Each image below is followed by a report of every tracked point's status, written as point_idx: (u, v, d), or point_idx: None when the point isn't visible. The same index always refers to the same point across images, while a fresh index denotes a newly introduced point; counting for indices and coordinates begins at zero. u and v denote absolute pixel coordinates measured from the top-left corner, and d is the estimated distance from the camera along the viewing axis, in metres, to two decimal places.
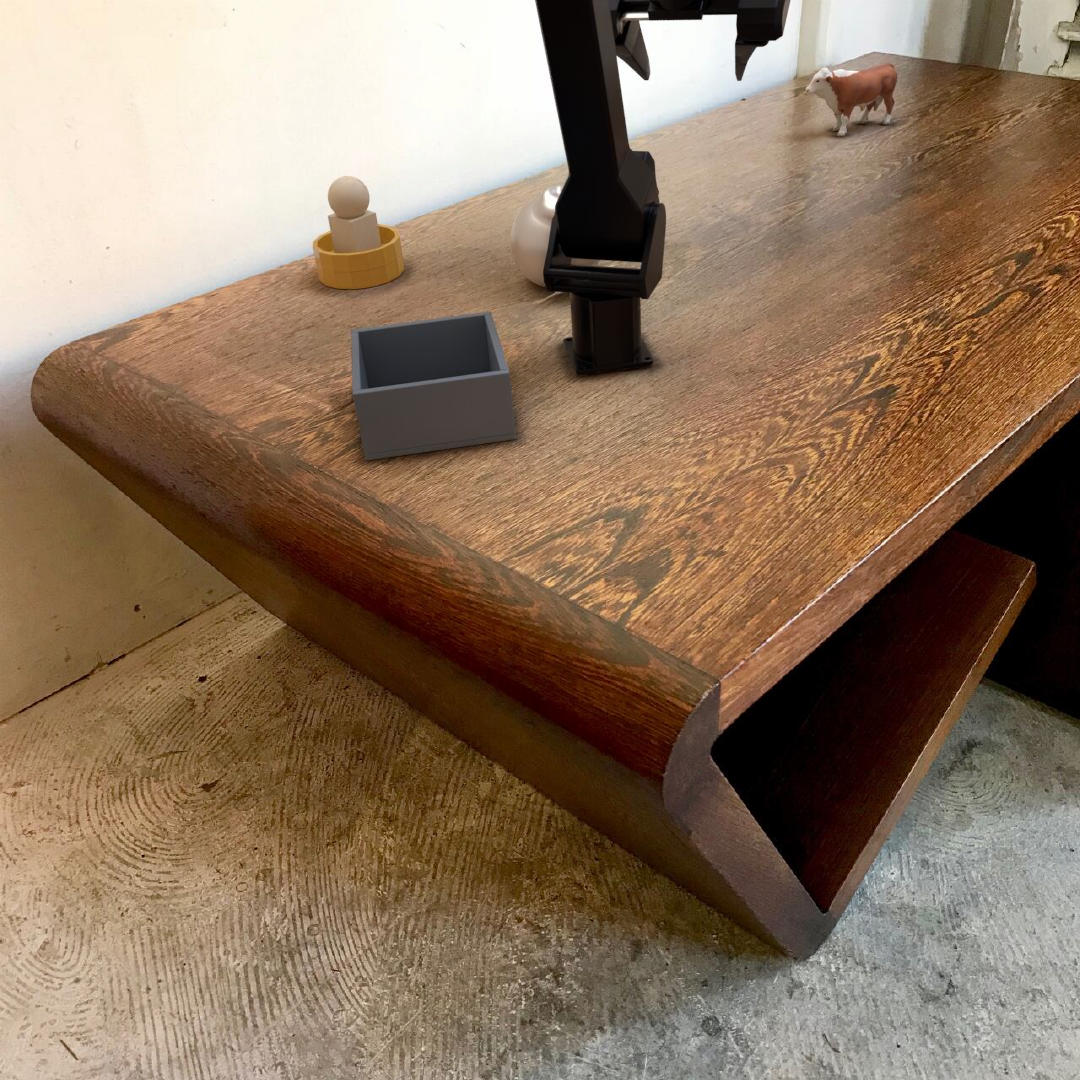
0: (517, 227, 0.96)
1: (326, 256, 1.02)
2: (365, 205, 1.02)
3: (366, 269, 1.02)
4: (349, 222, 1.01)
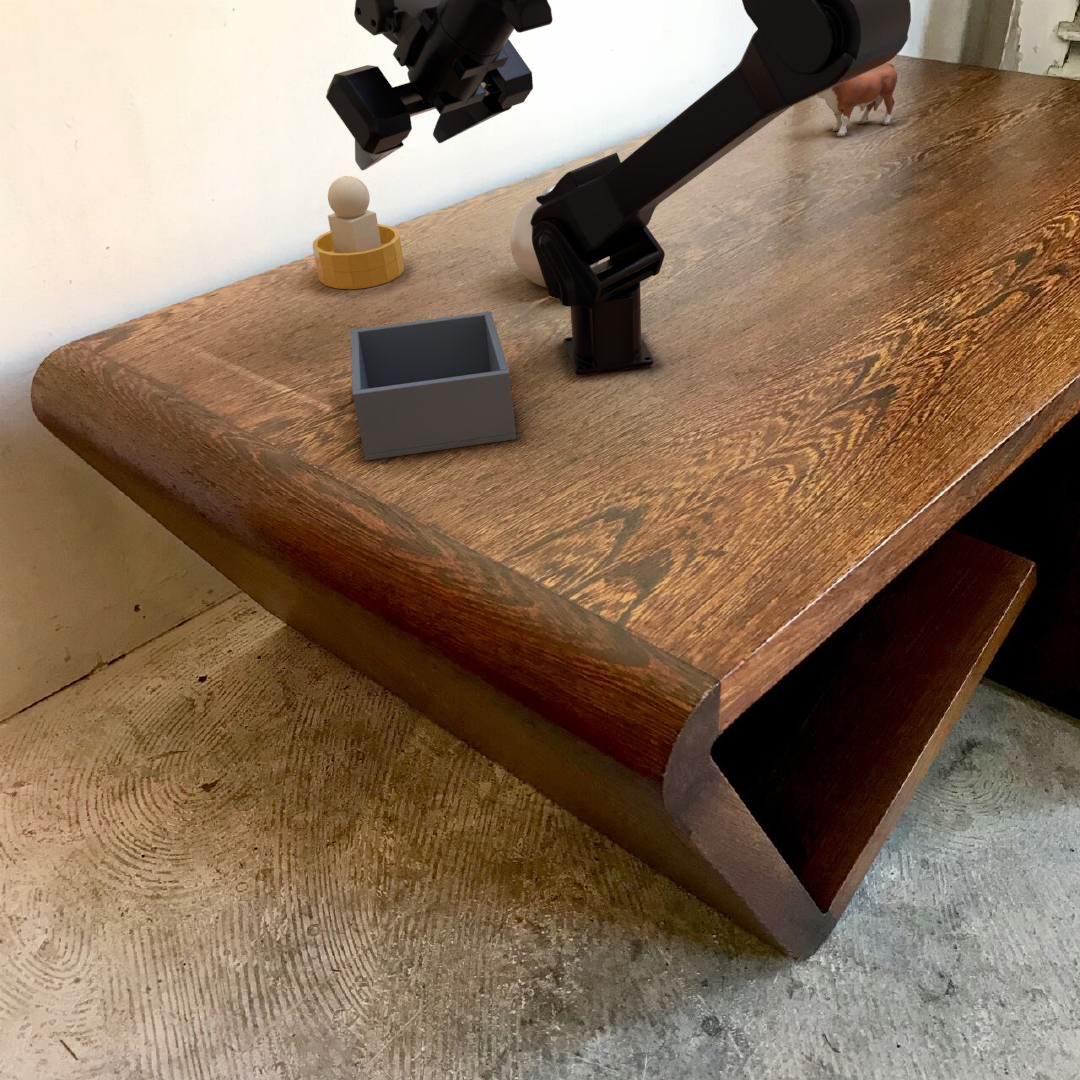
0: (517, 227, 0.96)
1: (326, 256, 1.02)
2: (365, 205, 1.02)
3: (366, 269, 1.02)
4: (349, 222, 1.01)
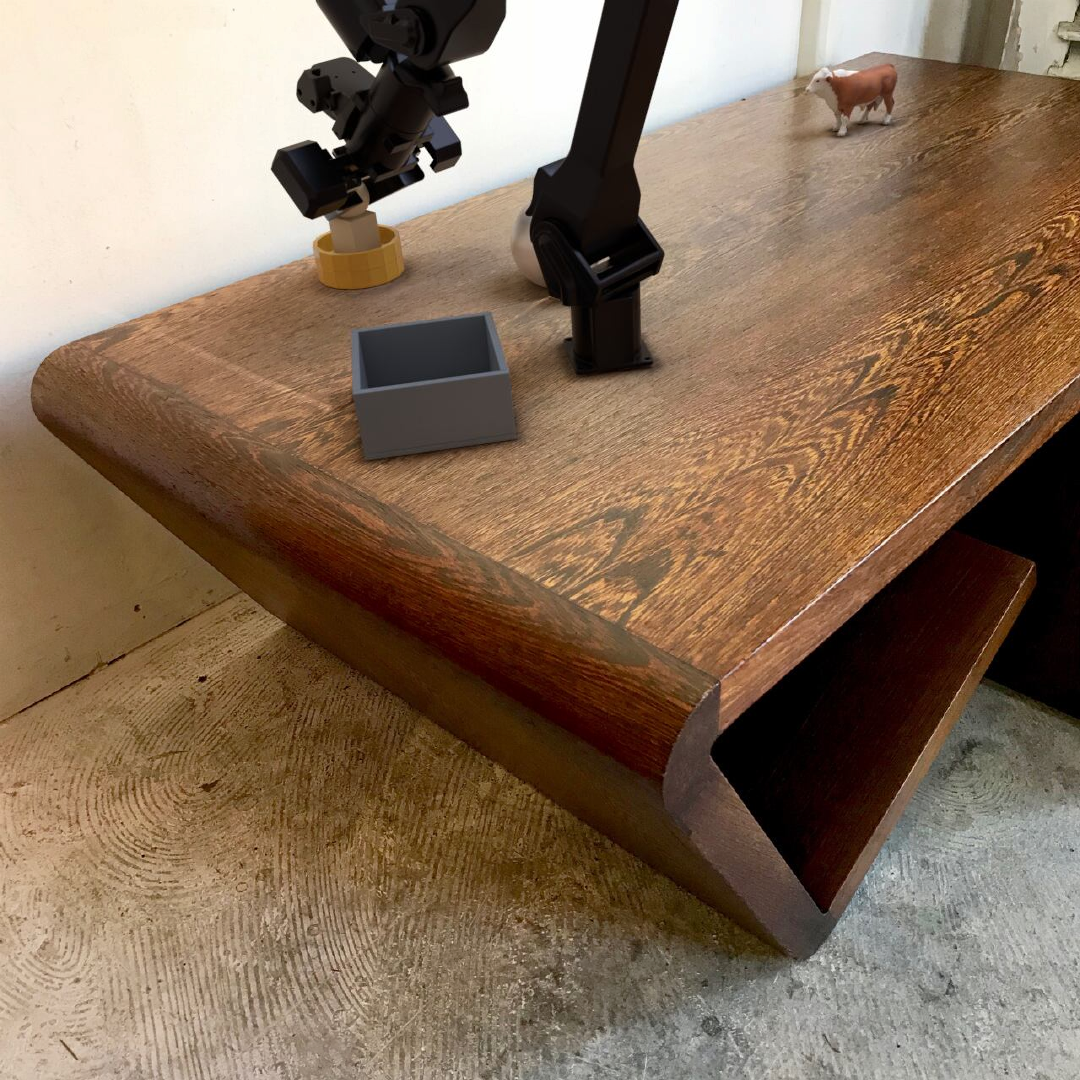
0: (517, 227, 0.96)
1: (326, 256, 1.02)
2: (365, 205, 1.02)
3: (366, 269, 1.02)
4: (349, 222, 1.01)
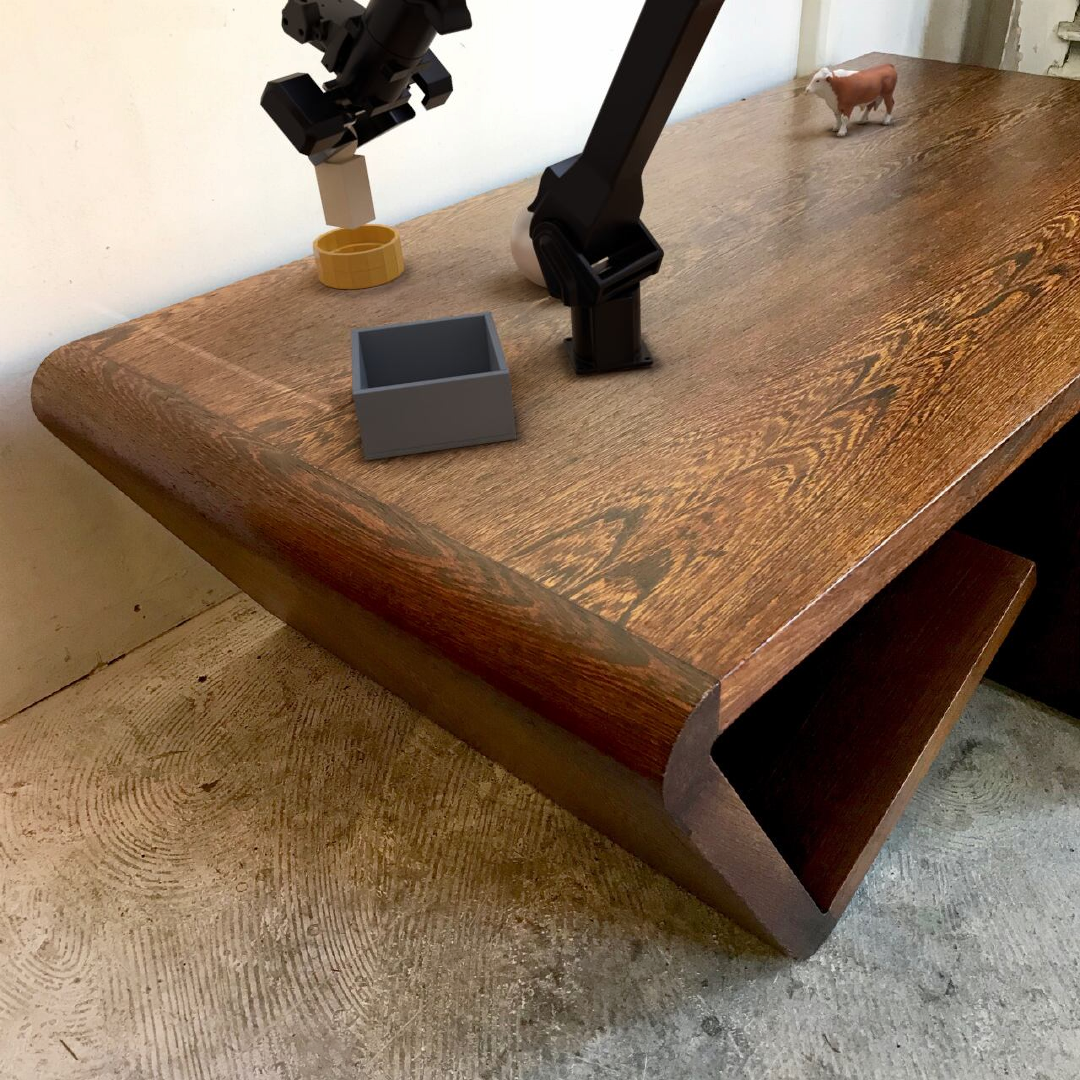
0: (517, 227, 0.96)
1: (326, 256, 1.02)
2: (354, 147, 0.96)
3: (366, 269, 1.02)
4: (339, 165, 0.96)
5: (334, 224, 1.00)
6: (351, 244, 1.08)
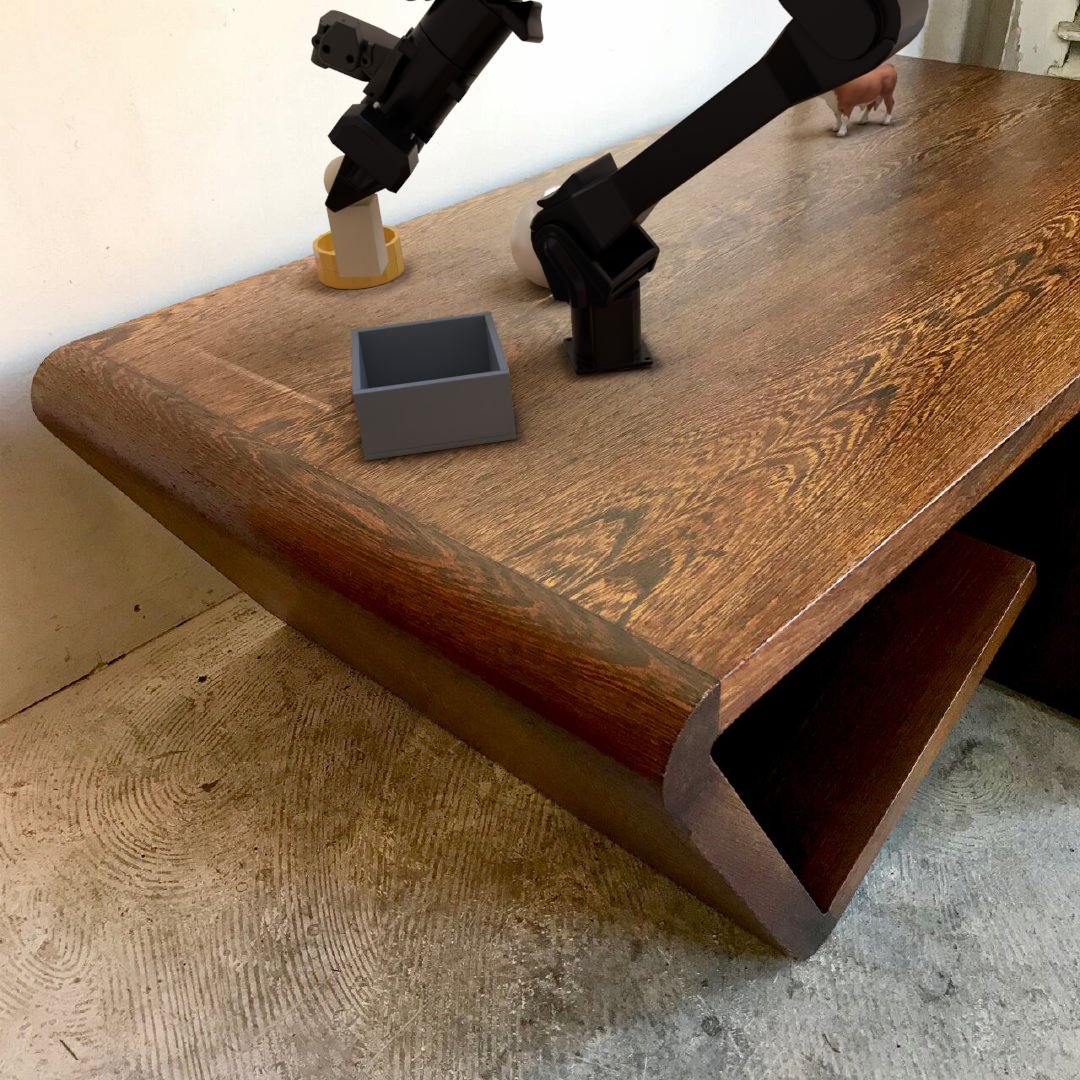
0: (517, 227, 0.96)
1: (326, 256, 1.02)
2: None
3: None
4: (367, 207, 0.86)
5: (353, 274, 0.89)
6: None
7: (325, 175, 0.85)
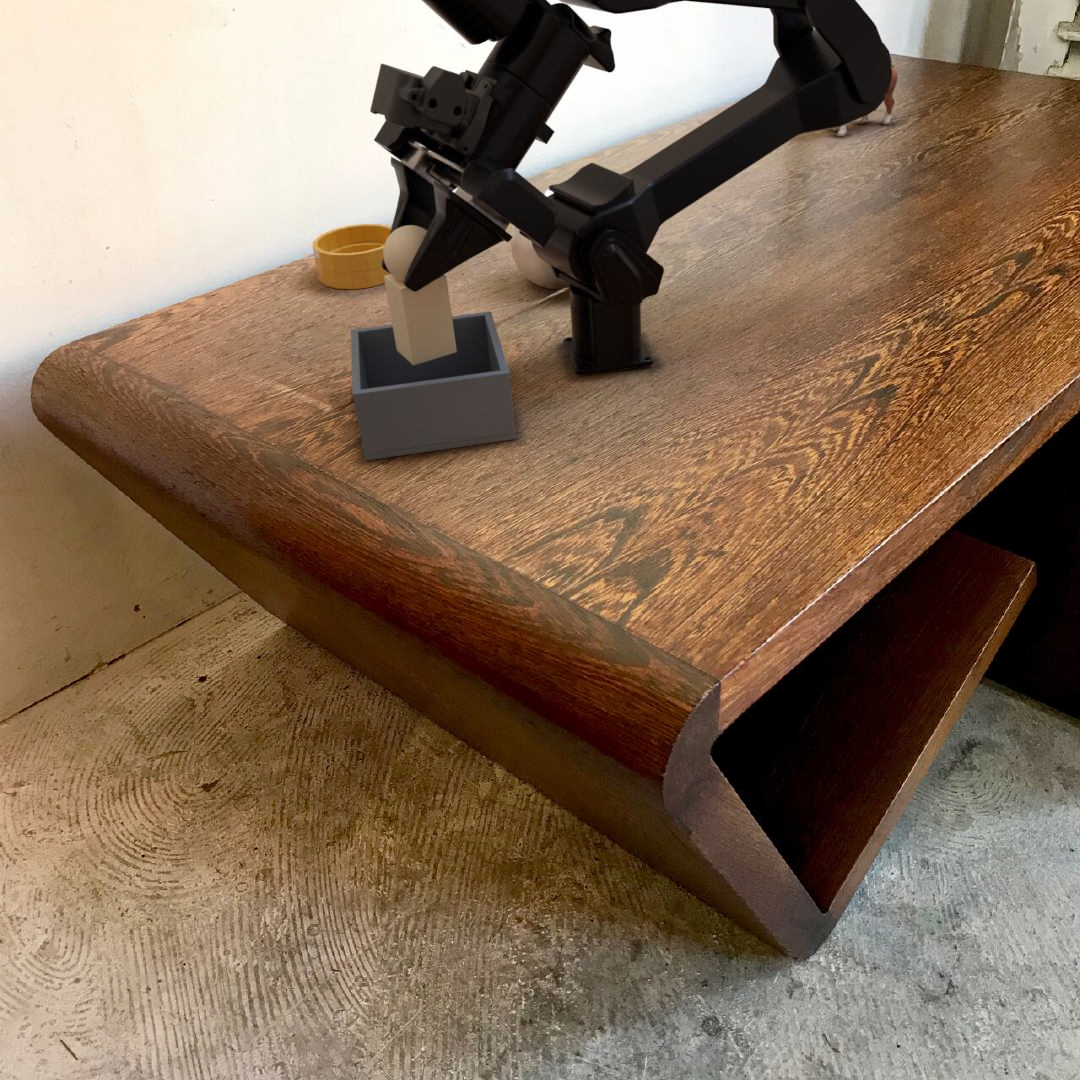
0: None
1: (326, 256, 1.02)
2: None
3: (366, 269, 1.02)
4: (444, 278, 0.75)
5: (427, 358, 0.78)
6: (351, 244, 1.08)
7: (395, 252, 0.73)
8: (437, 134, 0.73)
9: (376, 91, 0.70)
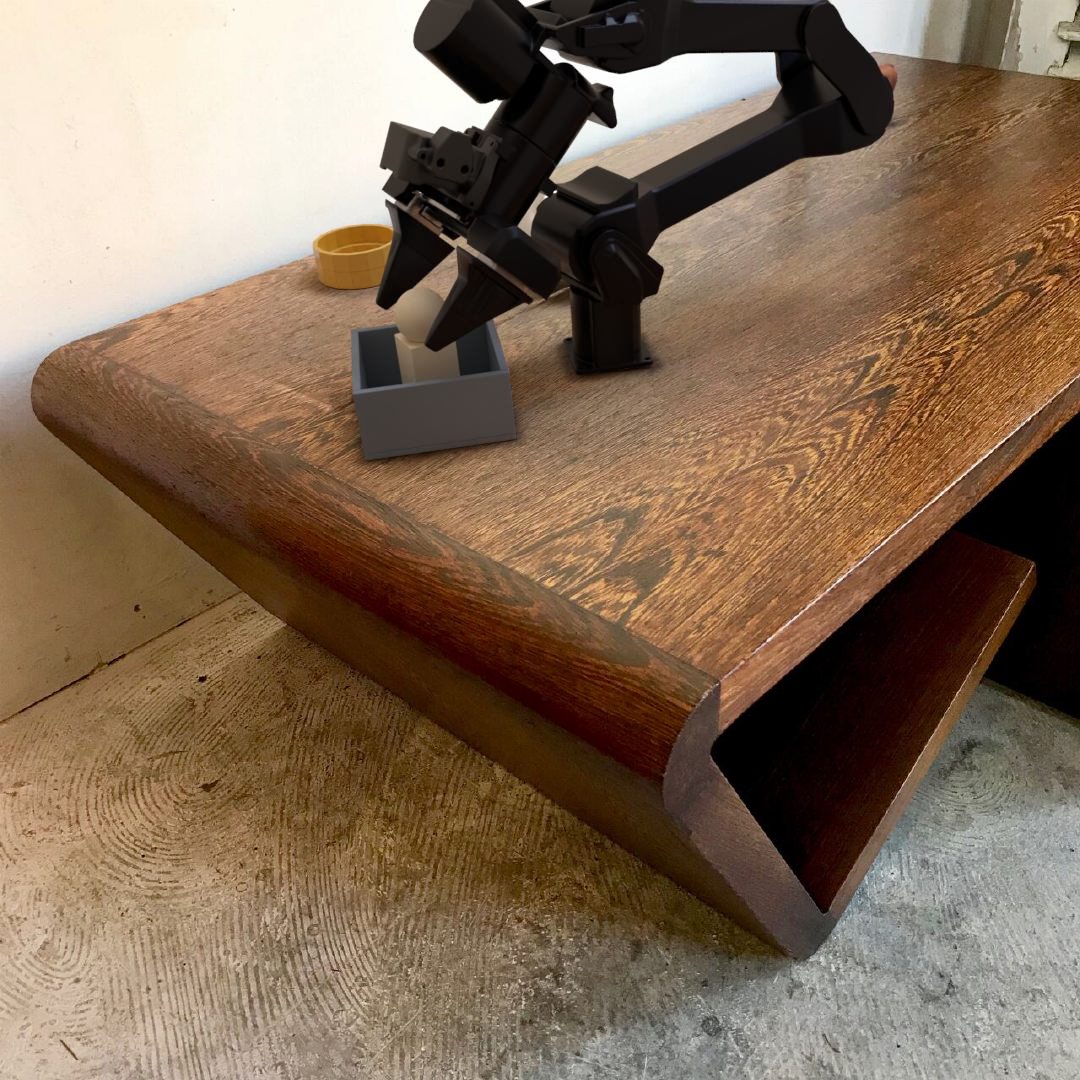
0: None
1: (326, 256, 1.02)
2: None
3: (366, 269, 1.02)
4: None
5: None
6: (351, 244, 1.08)
7: (405, 314, 0.76)
8: None
9: (385, 148, 0.72)
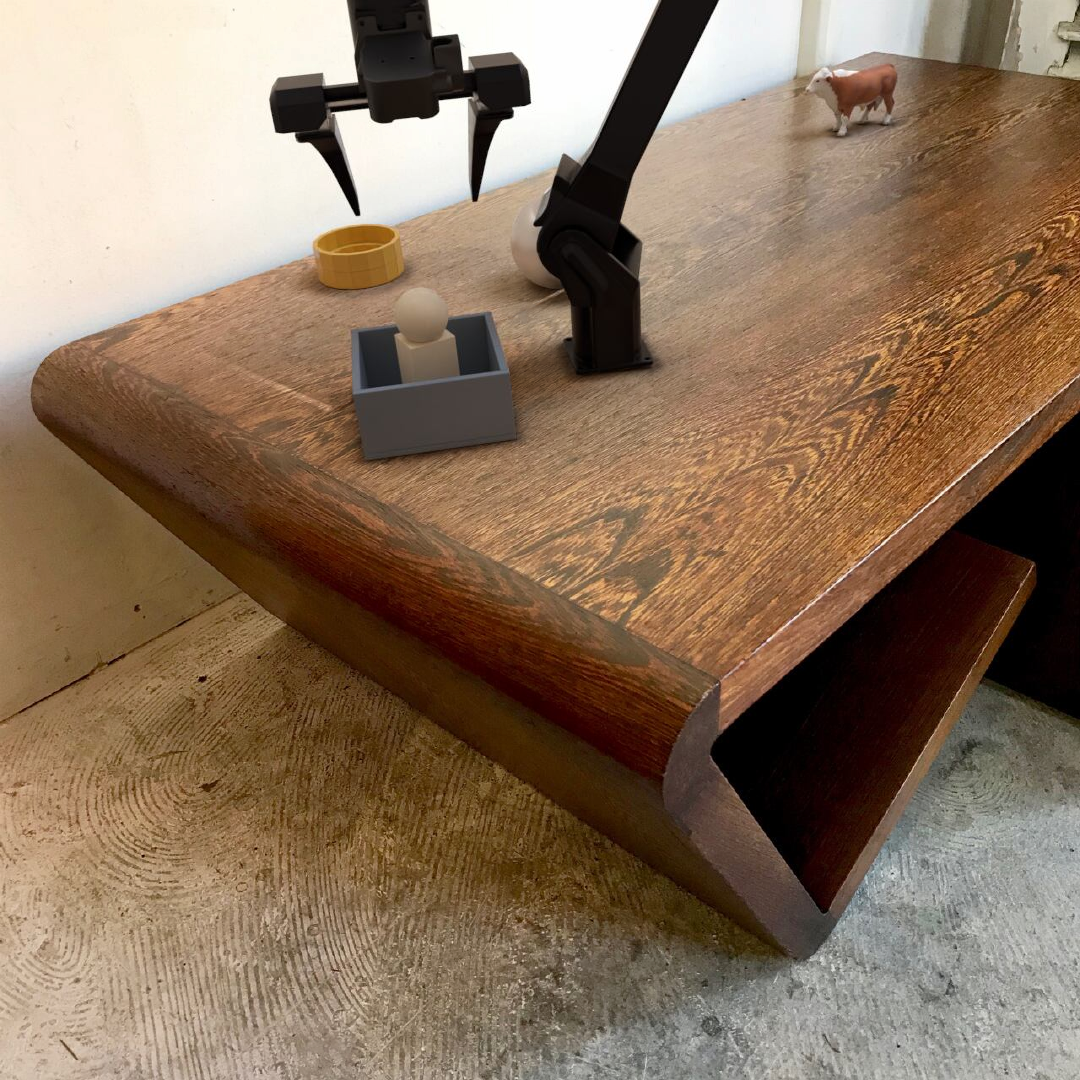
0: (517, 227, 0.96)
1: (326, 256, 1.02)
2: None
3: (366, 269, 1.02)
4: (453, 337, 0.78)
5: None
6: (351, 244, 1.08)
7: (405, 314, 0.76)
8: None
9: (384, 105, 0.71)
